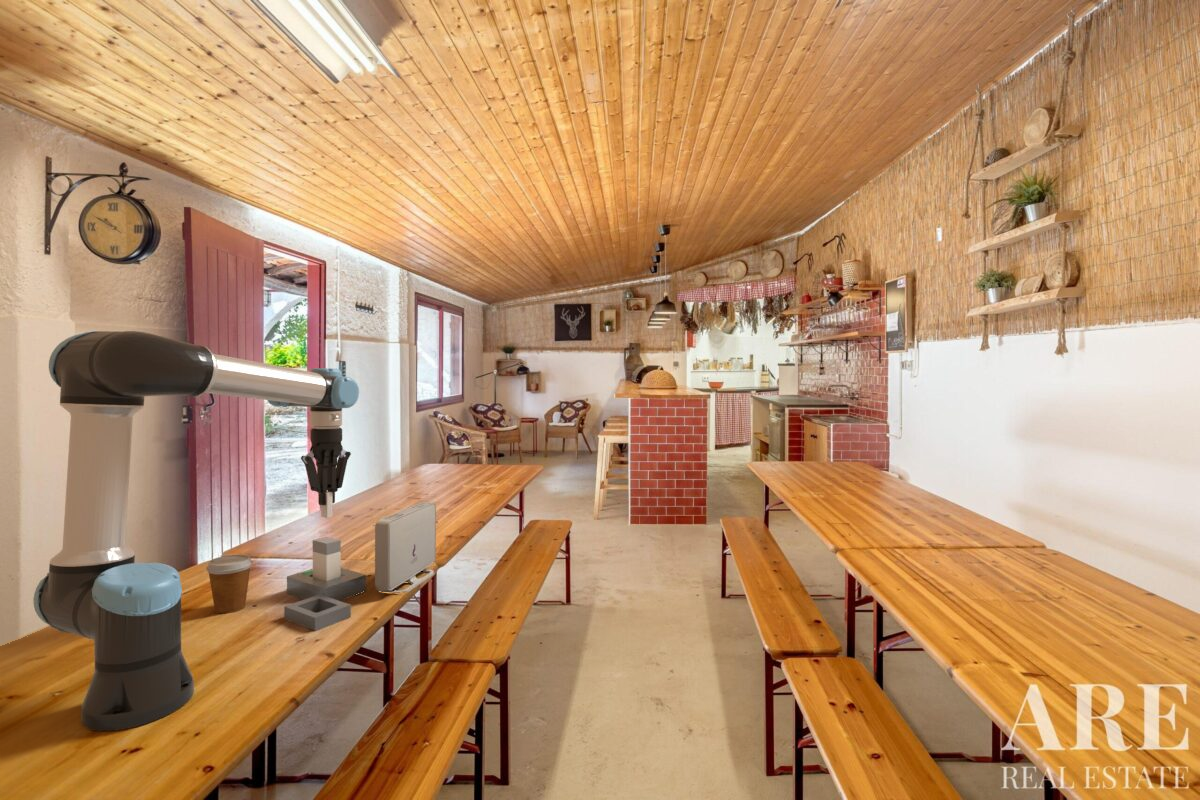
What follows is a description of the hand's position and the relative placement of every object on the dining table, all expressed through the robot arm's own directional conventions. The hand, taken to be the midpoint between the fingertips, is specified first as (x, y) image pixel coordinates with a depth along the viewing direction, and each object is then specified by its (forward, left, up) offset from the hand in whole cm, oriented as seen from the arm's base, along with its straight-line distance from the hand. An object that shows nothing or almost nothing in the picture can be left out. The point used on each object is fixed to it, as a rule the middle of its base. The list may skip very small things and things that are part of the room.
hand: (326, 516), depth 151 cm
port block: (0, 0, -20) cm, 20 cm away
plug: (0, 0, -20) cm, 20 cm away
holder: (-11, -13, -20) cm, 26 cm away
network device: (+17, -11, -20) cm, 29 cm away
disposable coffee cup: (-19, +10, -20) cm, 30 cm away
